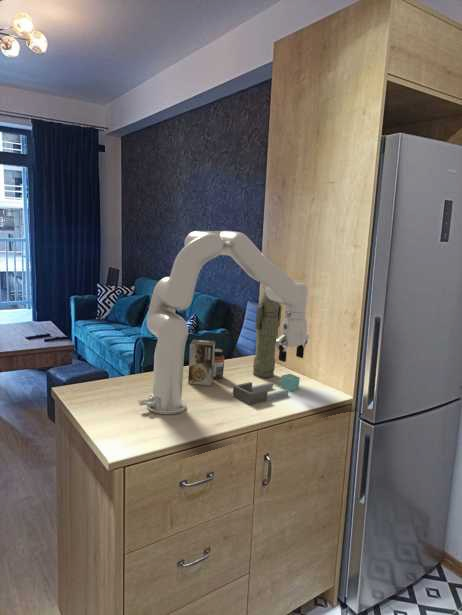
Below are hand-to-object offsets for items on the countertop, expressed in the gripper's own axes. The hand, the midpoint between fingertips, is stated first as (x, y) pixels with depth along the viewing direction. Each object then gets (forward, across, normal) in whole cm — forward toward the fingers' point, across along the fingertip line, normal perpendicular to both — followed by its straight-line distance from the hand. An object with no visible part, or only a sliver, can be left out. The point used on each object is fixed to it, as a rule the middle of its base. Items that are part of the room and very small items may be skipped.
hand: (291, 358), depth 173 cm
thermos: (+12, +3, +17) cm, 21 cm away
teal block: (+12, +1, 0) cm, 12 cm away
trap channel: (+12, -15, 0) cm, 19 cm away
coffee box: (+12, -26, +22) cm, 36 cm away
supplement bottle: (+12, -17, +24) cm, 32 cm away
